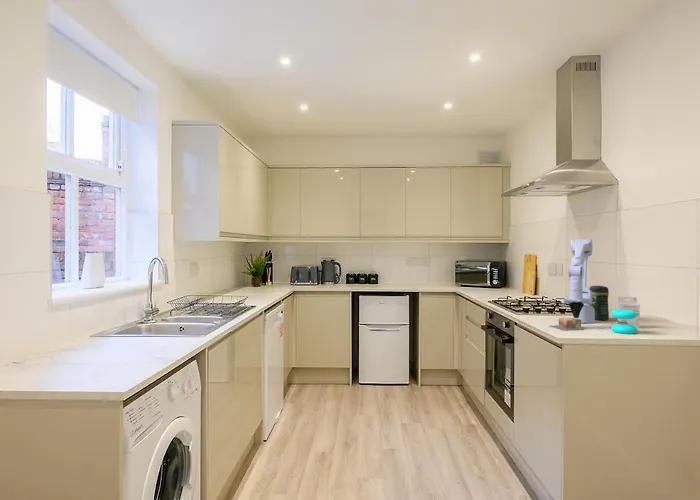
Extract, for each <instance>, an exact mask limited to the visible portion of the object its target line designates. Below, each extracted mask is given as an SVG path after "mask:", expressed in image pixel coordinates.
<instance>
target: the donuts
mask: <svg viewBox="0 0 700 500" xmlns="http://www.w3.org/2000/svg"><path fill="white" fill-rule="evenodd" d="M611 316H612V317H613V318H615V319H617V320H618V319H634V318H636V316H637V313H636V312H634V311H629V310H618V309H614V310H612V311H611ZM611 331H612V332H614V333H617V334H622V335H623V334H624V335H625V334H626V335H633V334H637V331H638V328H636V327H634V326H632V325H629V324H618V323H616V324H613V325H612V326H611Z"/></svg>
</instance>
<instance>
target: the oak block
mask: <svg viewBox="0 0 700 500" xmlns="http://www.w3.org/2000/svg"><path fill="white" fill-rule="evenodd" d="M558 325H559V327H562V328H566V329H571V328H581V329H582V323H581V320H580V319H575V318H574V317H563V318H558Z"/></svg>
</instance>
